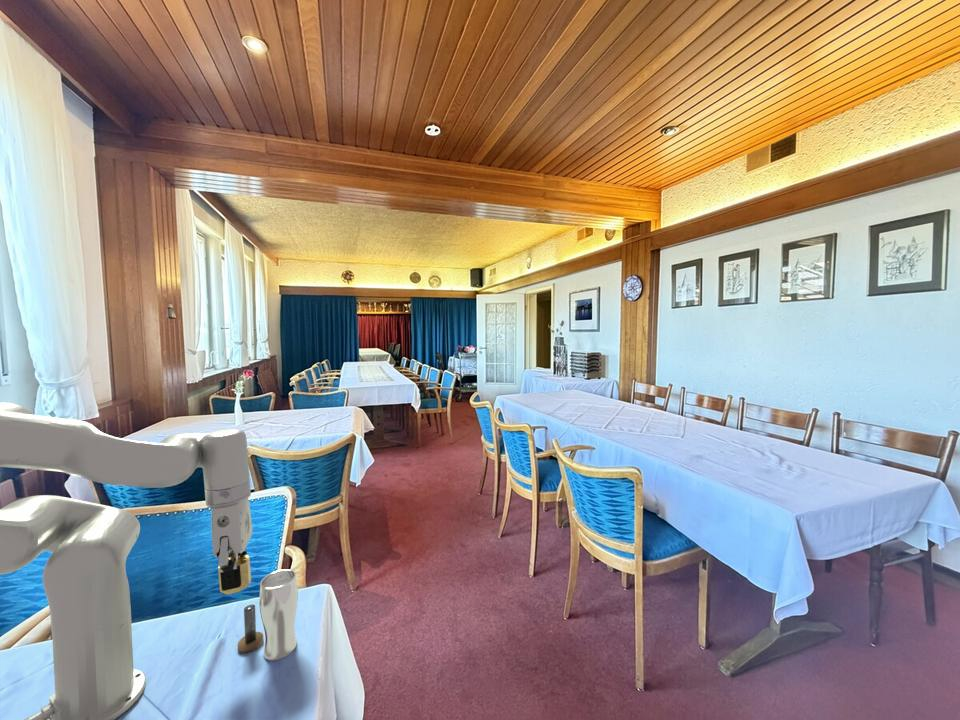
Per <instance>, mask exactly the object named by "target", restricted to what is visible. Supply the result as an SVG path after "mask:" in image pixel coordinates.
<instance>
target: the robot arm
mask: <svg viewBox="0 0 960 720" xmlns="http://www.w3.org/2000/svg"><path fill="white" fill-rule="evenodd" d="M248 455H249V453H248V441H247V434H246V432H245V431H244V430H242V429H238V428H230V429H222V430H216V431H211V432H201V433H197V432H196V433H191V432H190V433H177V434H176V433H175V434H172V435H170V436H167V437H165V438H163V439H162V440H161V441H160V442H159V443H158V442H148V441H140V440H138V441H137V440H132V439H125V438H121V437H116V436H113V435H109V434H108V433H104V432H103V431H100V430H99V429H98V428H97V427H96V426H95V425H93V423H90V422H88V421H85V420H80V419H73V418H72V419H70V418H63V417H58V416H57V417H54V416H47V415H41V414H33V412H31V410H29V409H28V408H26V407H24V406H21V405H19V404H17V403H12V402H4V401H3V402H2V401H0V468H12V469H27V470H35V471H37V470H38V471H50V472H60V473H64V474H67V475H70V476H73V477H75V478H80V479H84V480H88V481H91V482H95V483H99V484H100V483H101V484H103V485H111V486H121V487H133V488H135V487H136V488H149V489H150V488H151V489H155V488H158V489H159V488H167V487H173V486H177V485H179V484H182V483H183V482H184V481H186V480H188V479H189V477H191V476H192V475H193V473H194V472H195V470H196V469H198V468H202V473H203V476H202V477H203V485H204V486H203V487H204V497H205V505H206V507H208V508H211V516H210V519H211V521H210V523H211V541H212V542H211V543H212V550H213V551H212V553H213V556H214V558H216V559H218V567H220V575H221V588H222V591H226V590H230V589H234V588H238V587H240V586H241V572H240V566H238V555H242V554H244V555H247V556H248V553H247V552H248V551H247V547H248V544H249V541H250V539H251V537H252V535H253V524H252V523H253V521H252V516H251V515H252V513H251V506H250V501H249V498H250V497H251V495H252V492H251V491H252V490H251V482H250V467H249V466H250V465H249V456H248ZM140 531H141V525H140V521H139V519H138V518H137V516H135V514H133V513H132V512H130V511H128V510H125V509H122V508H119V507H114V506H110V505H106V504H101V503H97V502H92V501H91V502H90V501H85V500H81V499H76V498H71V497H65V496H61V495H55V494H54V495H53V494H52V495H51V494H44V495H43V494H42V495H41V494H40V495H31V496H26V497H22V498H19V499H18V500H15V501H12V502H11V503H9V504H7V505H5V506H3V507H1V508H0V575H7V574H10V573H14V572H15V571H18V570H20V569H22V568H24V567H25V566H27V565H28V564H30V563H33V561H34V560H35V559H36V558H38V557H39V556H40V555H41V554H42V553H43V552H49V553H51V554H50V556H49V557H48V559H47V561H46V562H45V565H44V568H43V573H42V584H43V589H44V594H45V596H46V599H47V602H48V607H49V614H50V624H51V638H52V640H51V641H52V656H53V673H54V674H53V675H54V693H53V694H52V695H50V696H49V697H48V701H49V703H48V704H46V705H45V706H43V707H40V711H38V712H36V713H34V714H32V715H31V716H29V717H26V718H25V719H23V720H116V719H118V718H119V717H120V716H121V715H123V714H124V713H126V711H128V710H129V709H130V708H131V707H132V706H133V705H134V704H135V702H137V700H138V699H139V698H140V697H141V695H142V694H143V692H144V690H145V688H146V684H147V682H146V676H145V673H144V672H142V670H140V669H135V668H134V653H133V652H134V651H133V649H134V648H133V627H132V626H133V625H132V608H131V593H130V584H129V580H128V576H127V571H126V569H127V568H126V562H127V558H128V556H129V554H130V552H131V550H132V548H133V547H134V545H135V544H136V542H137V540H138V538H139V535H140V533H141V532H140ZM232 556H233V561H232V560H229V558H230V557H232Z"/></svg>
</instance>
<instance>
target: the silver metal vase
mask: <svg viewBox="0 0 960 720" xmlns="http://www.w3.org/2000/svg"><path fill="white" fill-rule="evenodd" d="M259 583H260V584H259V585H260V586H259V612H260V613H259V614H260V618H261V621H262V626H263V629H264V633H265V634H264V635H265V640H264V641H265V643H264V649H263V657H264V659H266V660H267V661H272V662H273V661H278V660H283V659H284V658H286V657H288V656H289V655H290V654H292V653H293V652H294V651H295V649H296V647H297V644H298V643H297V637H296V633H295V621H296V616H297V615H296V613H297V608H298V599H299V596H298V584H297V583H298V581H297V573H296V571H295V570H293V569H285V568H284V569H279V570H276V571H275V570H274V571H273V572H271V573H268V574H266V576H264V577H263V578H262V579H261V581H260V582H259Z"/></svg>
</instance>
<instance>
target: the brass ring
mask: <svg viewBox="0 0 960 720" xmlns="http://www.w3.org/2000/svg"><path fill="white" fill-rule="evenodd" d="M229 560H232V561H233V556H232V557H230V558H229ZM238 566H240V572H241V586H240V587H238V588H234V589H230V590H226V591H222V588H221V575H220V567H219V566H218V567H217V571H218V584H219V593H221V594H224V595H232V594H235V593H239V592H241V591H243V590H244V589H246V588H248V586H250V585H251V581H252V573H251V560H250V555H248V554H247V555H244V554H242V555H238Z"/></svg>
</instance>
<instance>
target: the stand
mask: <svg viewBox="0 0 960 720" xmlns="http://www.w3.org/2000/svg"><path fill="white" fill-rule="evenodd" d="M243 616H244V617H243V618H244V619H243V620H244V636H242V638H240V639H239V641H238V642H237V651H238V653H240V654H250V653H253V652H255V651H256V650H258V649H259V648H260V647H261V646H262V645H263V643H264V633H262V632H261V631H257V627H256V626H257V624H256V623H257V622H256V621H257V619H256V605H255V604H249V605H247V606H245V607H244V608H243Z"/></svg>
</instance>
